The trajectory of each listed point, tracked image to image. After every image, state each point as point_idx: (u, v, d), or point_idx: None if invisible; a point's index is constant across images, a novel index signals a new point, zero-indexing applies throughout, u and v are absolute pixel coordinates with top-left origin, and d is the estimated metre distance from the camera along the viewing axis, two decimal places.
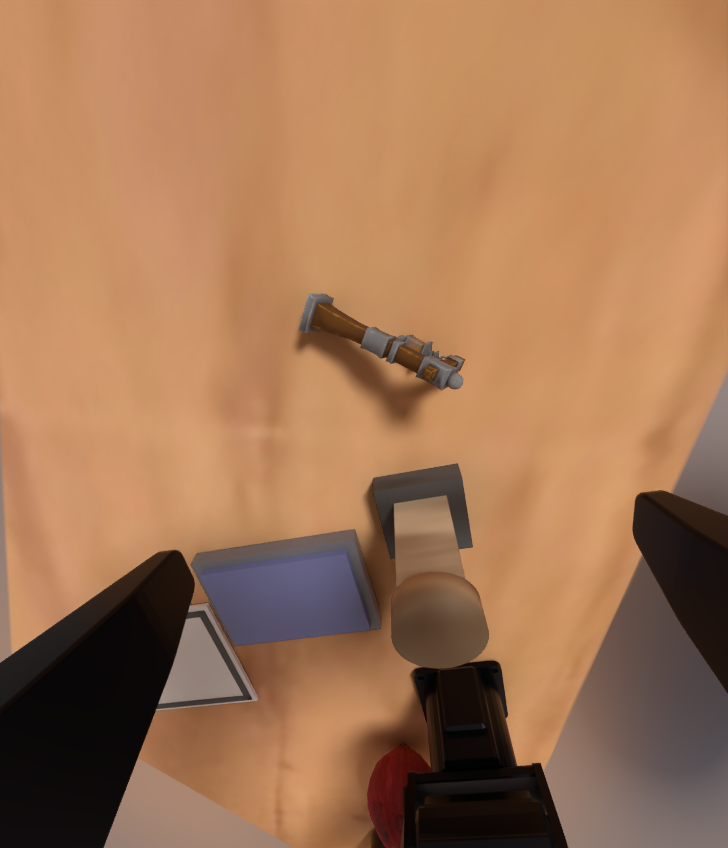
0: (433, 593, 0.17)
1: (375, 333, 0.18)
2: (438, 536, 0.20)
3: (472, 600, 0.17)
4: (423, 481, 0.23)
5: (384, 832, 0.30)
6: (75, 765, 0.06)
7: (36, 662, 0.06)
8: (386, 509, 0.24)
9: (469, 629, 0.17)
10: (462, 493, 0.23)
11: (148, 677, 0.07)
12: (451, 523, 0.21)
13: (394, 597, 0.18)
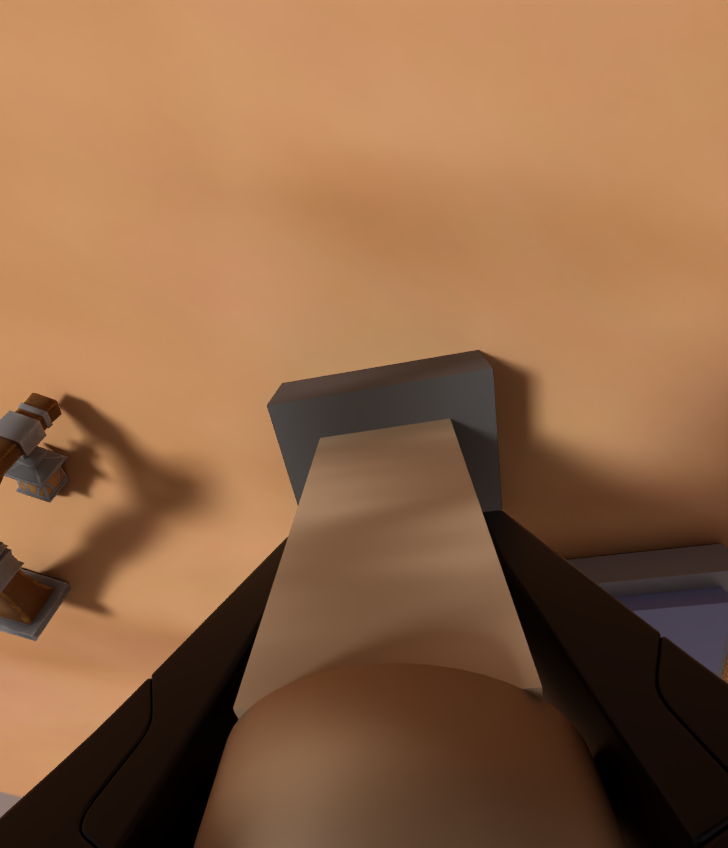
0: None
1: None
2: None
3: (223, 834, 0.03)
4: (292, 478, 0.10)
5: None
6: None
7: (223, 645, 0.05)
8: None
9: None
10: (313, 402, 0.09)
11: None
12: (301, 503, 0.07)
13: None
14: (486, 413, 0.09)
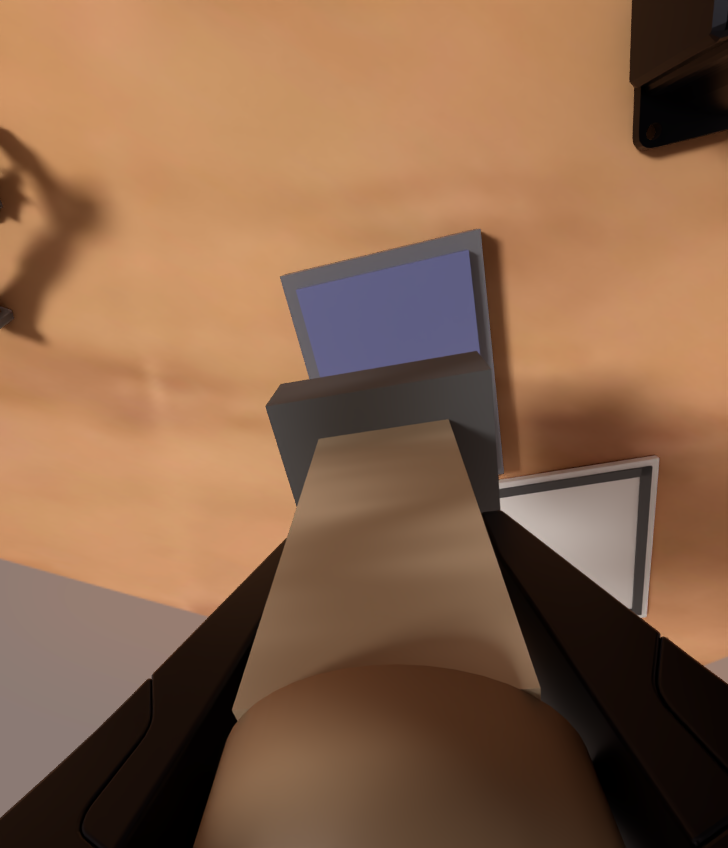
0: None
1: None
2: None
3: (222, 837, 0.03)
4: (291, 479, 0.10)
5: None
6: None
7: (223, 645, 0.05)
8: None
9: None
10: (311, 403, 0.09)
11: None
12: (299, 504, 0.07)
13: None
14: (484, 414, 0.09)
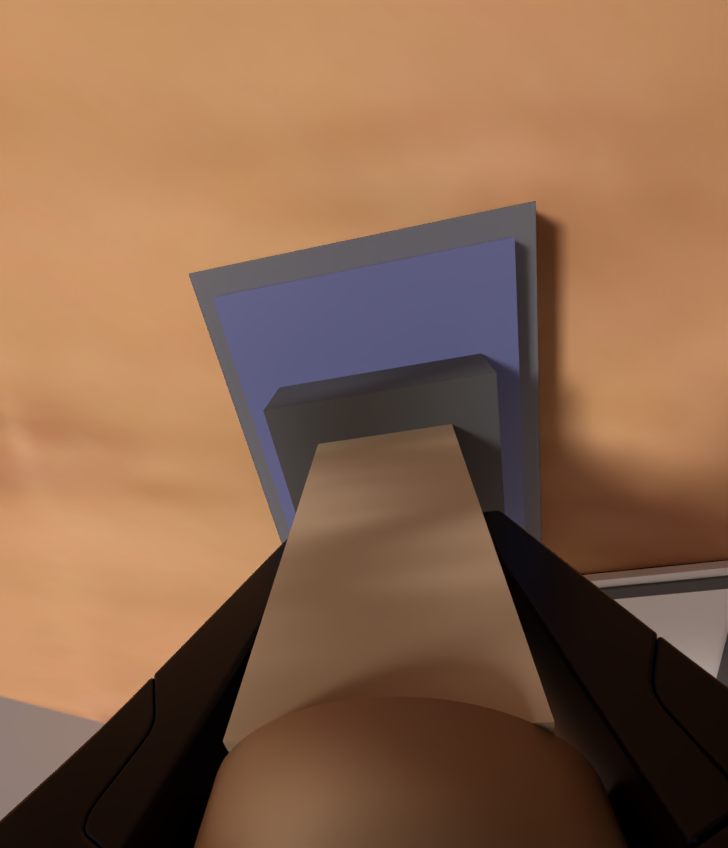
0: None
1: None
2: None
3: None
4: (290, 484, 0.10)
5: None
6: None
7: (226, 645, 0.05)
8: None
9: None
10: (311, 407, 0.09)
11: None
12: (297, 513, 0.07)
13: None
14: (489, 419, 0.09)
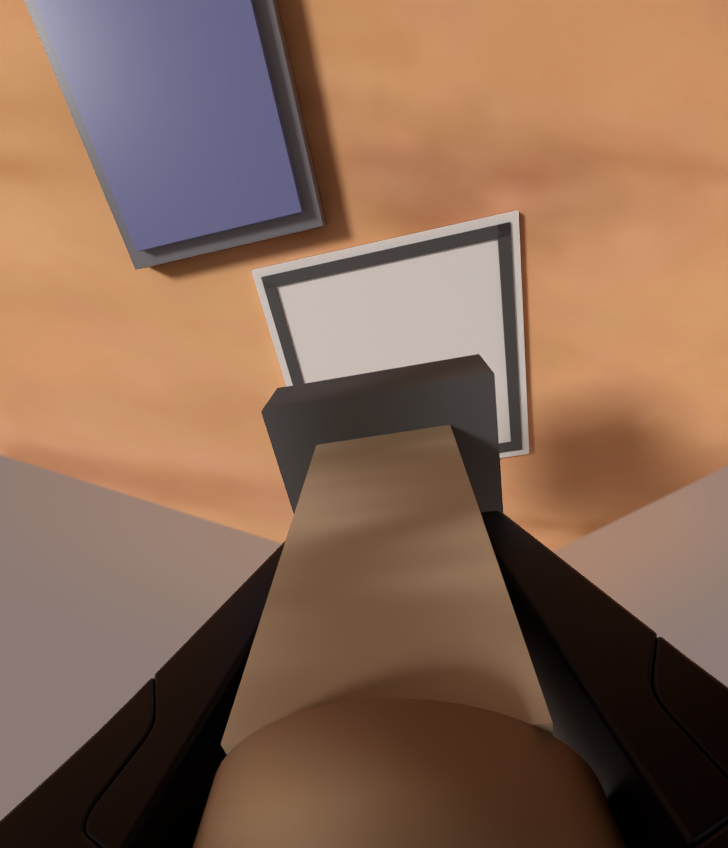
0: None
1: None
2: None
3: None
4: (288, 485, 0.10)
5: None
6: None
7: (226, 645, 0.05)
8: None
9: None
10: (309, 408, 0.09)
11: None
12: (296, 514, 0.07)
13: None
14: (487, 419, 0.09)
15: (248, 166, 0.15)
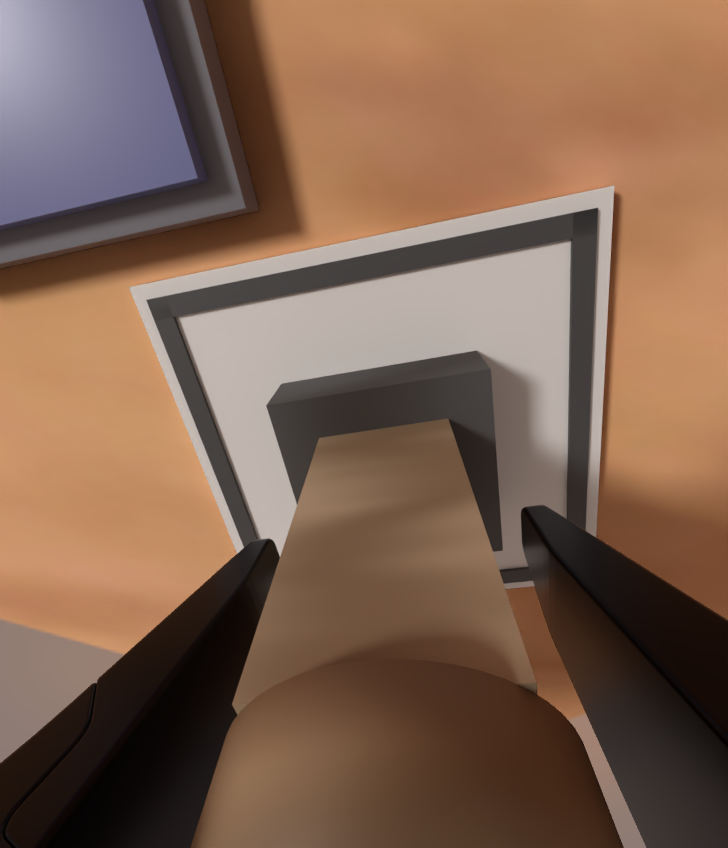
0: None
1: None
2: None
3: (221, 826, 0.03)
4: (291, 477, 0.10)
5: None
6: (209, 758, 0.06)
7: (170, 650, 0.05)
8: None
9: None
10: (312, 402, 0.09)
11: None
12: (299, 502, 0.07)
13: None
14: (484, 413, 0.09)
15: (82, 81, 0.07)
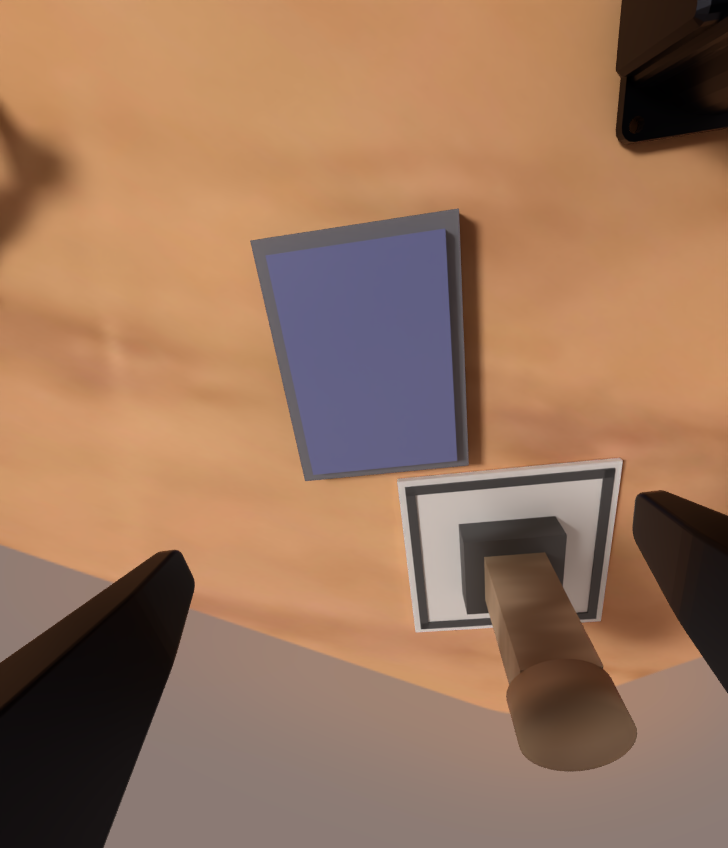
0: (515, 725, 0.15)
1: None
2: (501, 623, 0.18)
3: (538, 694, 0.14)
4: (464, 571, 0.22)
5: None
6: (75, 765, 0.06)
7: (36, 662, 0.06)
8: None
9: (572, 717, 0.14)
10: (485, 543, 0.21)
11: (148, 677, 0.07)
12: (496, 596, 0.19)
13: None
14: (561, 551, 0.21)
15: (421, 429, 0.18)
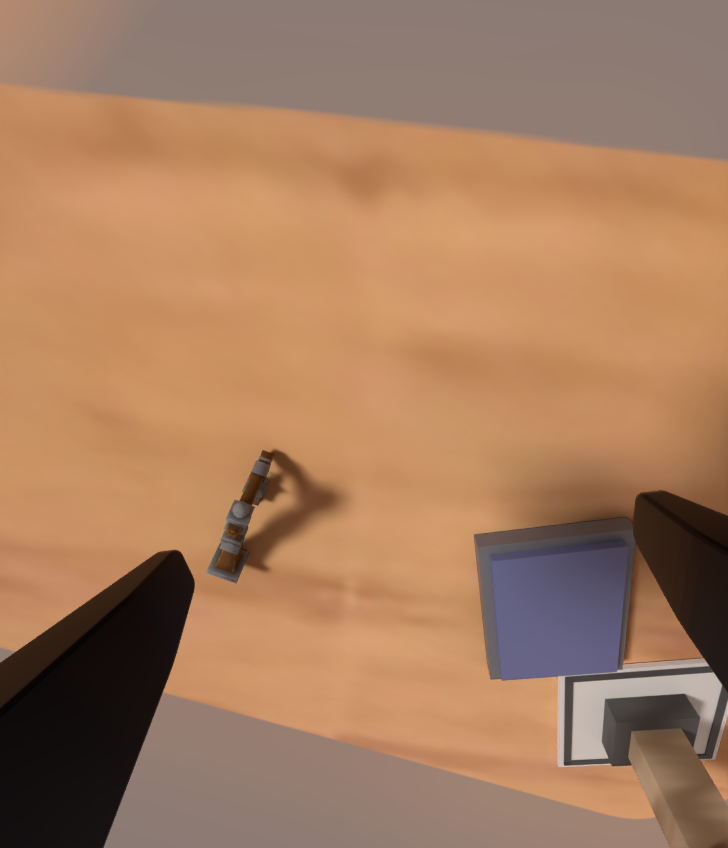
0: None
1: (222, 544, 0.21)
2: (660, 801, 0.24)
3: None
4: (612, 738, 0.27)
5: None
6: (75, 765, 0.06)
7: (36, 662, 0.06)
8: None
9: None
10: (633, 722, 0.26)
11: (148, 677, 0.07)
12: (653, 777, 0.25)
13: None
14: (694, 727, 0.26)
15: (592, 654, 0.24)
